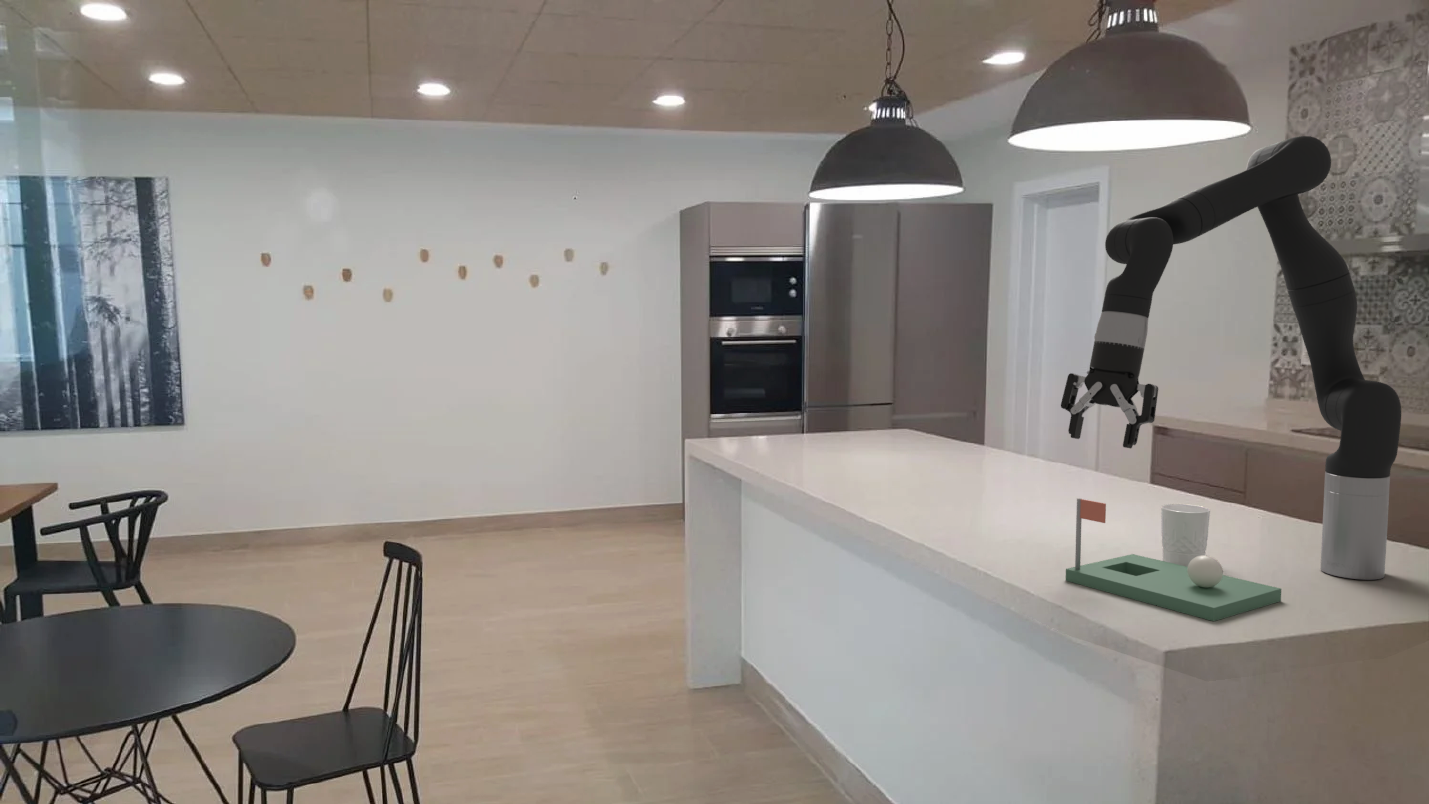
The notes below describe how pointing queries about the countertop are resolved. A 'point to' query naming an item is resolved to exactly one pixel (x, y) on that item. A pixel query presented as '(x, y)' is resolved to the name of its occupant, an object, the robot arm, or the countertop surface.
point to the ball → (1205, 571)
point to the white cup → (1184, 532)
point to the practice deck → (1164, 580)
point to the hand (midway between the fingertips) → (1100, 443)
